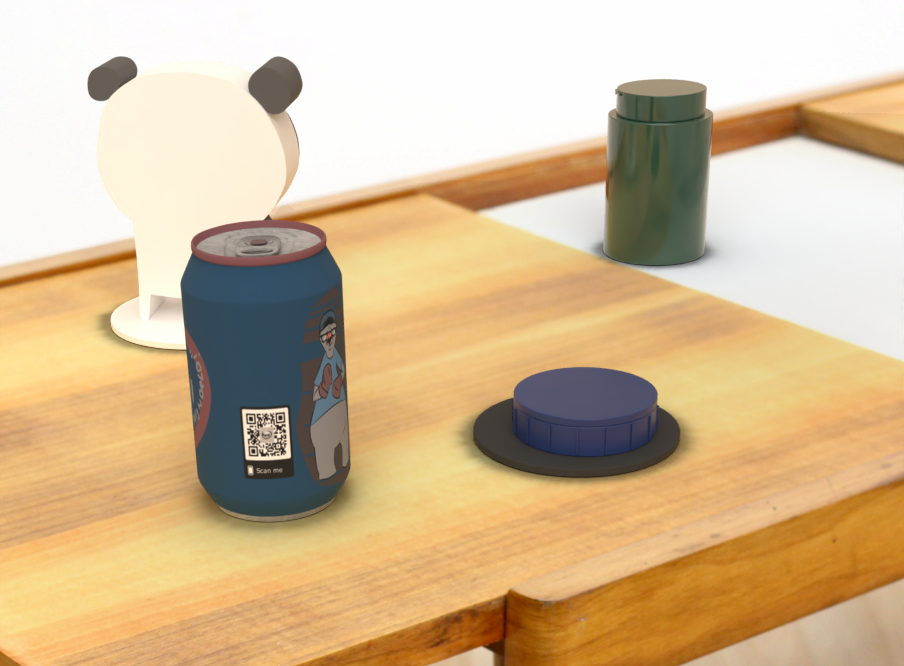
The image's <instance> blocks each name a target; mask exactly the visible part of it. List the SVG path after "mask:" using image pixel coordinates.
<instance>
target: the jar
mask: <svg viewBox="0 0 904 666" xmlns="http://www.w3.org/2000/svg"><path fill="white" fill-rule="evenodd" d="M614 94H615V95H616V100H615V101H616V102H615V104H616V105H615V108H613V109H611V110H609V111H608V113H607V129H606V130H607V131H606V133H607V134H606V157H605V158H606V163H605V187H604V189H605V191H604V214H603V218H604V219H603V242H602V243H603V246H602V247H603V248H602V251H603V253H604V254H605V255H606V256H607V257H609V258H610V259H613V260H615V261H619V262H621V263H626V264H631V265H641V266H671V265H679V264H686V263H689V262H692V261H695V260H697V259H700V258H701V257H702V256H703V255H704V253H705V249H706V247H705V246H706V234H707V220H708V219H707V218H708V204H709V185H710V173H711V158H712V142H713V141H712V140H713V128H714V127H713V126H714V125H713V124H714V112H713V110H711V109H709V108H706V107H707V96H708V95H707V94H708V87H707V85H705V84H703V83H702V82H698V81H693V80H686V79H678V78H677V79H675V78H674V79H673V78H653V79H652V78H651V79H650V78H649V79H639V80H633V81H628V82H627V81H626V82H624V83H621V84H619V85H617V87H616V88H614Z"/></svg>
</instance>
